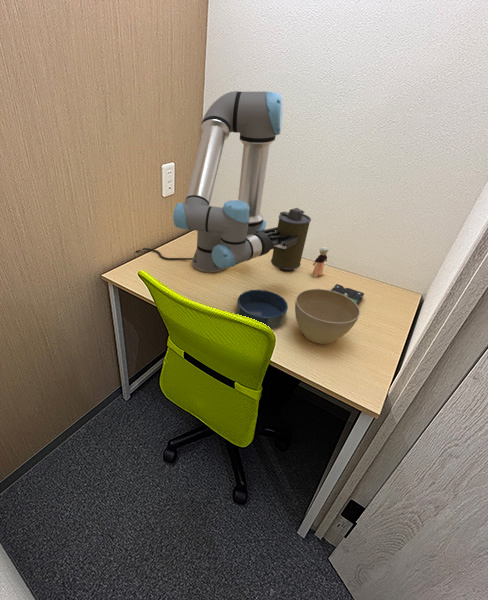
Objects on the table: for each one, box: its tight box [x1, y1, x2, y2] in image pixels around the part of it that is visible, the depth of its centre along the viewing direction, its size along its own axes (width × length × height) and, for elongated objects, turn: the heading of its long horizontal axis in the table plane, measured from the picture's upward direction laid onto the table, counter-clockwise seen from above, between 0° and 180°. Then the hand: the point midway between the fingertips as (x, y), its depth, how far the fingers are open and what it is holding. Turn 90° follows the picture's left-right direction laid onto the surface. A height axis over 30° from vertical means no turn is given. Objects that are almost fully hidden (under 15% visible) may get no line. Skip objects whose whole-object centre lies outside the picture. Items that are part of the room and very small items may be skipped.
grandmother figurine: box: [311, 246, 329, 278], centre depth 136 cm, size 8×4×13 cm, turn 131°
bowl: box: [235, 289, 289, 330], centre depth 115 cm, size 17×17×5 cm
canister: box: [270, 207, 312, 270], centre depth 117 cm, size 11×10×20 cm
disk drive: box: [330, 283, 365, 306], centre depth 122 cm, size 10×3×15 cm
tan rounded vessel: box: [294, 288, 361, 345], centre depth 104 cm, size 18×18×12 cm
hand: (301, 229), depth 119 cm, fingers closed on canister, 2 cm apart
